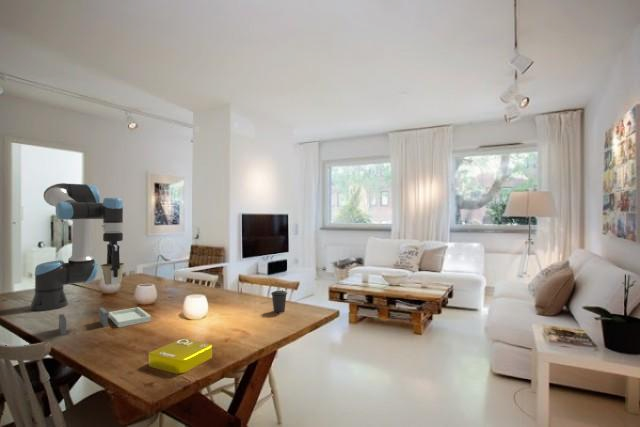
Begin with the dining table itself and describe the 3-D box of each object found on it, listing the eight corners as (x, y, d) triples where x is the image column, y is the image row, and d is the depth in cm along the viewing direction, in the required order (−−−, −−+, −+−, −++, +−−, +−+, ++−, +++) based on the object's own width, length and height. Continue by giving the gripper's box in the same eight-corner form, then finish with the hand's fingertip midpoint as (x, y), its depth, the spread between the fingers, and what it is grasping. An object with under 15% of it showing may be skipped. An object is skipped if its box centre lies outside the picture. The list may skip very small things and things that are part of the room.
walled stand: (58, 328, 144) (58, 314, 144) (103, 320, 155) (103, 307, 155) (61, 335, 137) (61, 320, 137) (107, 326, 147) (107, 312, 147)
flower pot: (113, 286, 147) (113, 266, 147) (95, 285, 149) (95, 265, 149) (129, 282, 156) (129, 263, 156) (112, 281, 158) (112, 262, 158)
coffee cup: (288, 309, 174) (288, 289, 174) (285, 313, 166) (285, 293, 166) (273, 308, 175) (273, 289, 175) (269, 313, 166) (269, 292, 166)
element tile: (145, 366, 109) (145, 351, 109) (182, 349, 123) (182, 336, 123) (180, 376, 103) (180, 360, 103) (214, 357, 117) (214, 343, 117)
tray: (108, 317, 160) (108, 312, 160) (138, 311, 169) (138, 307, 169) (118, 327, 146) (118, 322, 146) (151, 321, 154) (151, 316, 154)
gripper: (99, 231, 158) (99, 280, 158) (107, 233, 142) (107, 288, 142) (117, 231, 163) (117, 278, 163) (127, 232, 147) (127, 285, 147)
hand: (113, 283), depth 153 cm, fingers closed on flower pot, 8 cm apart
